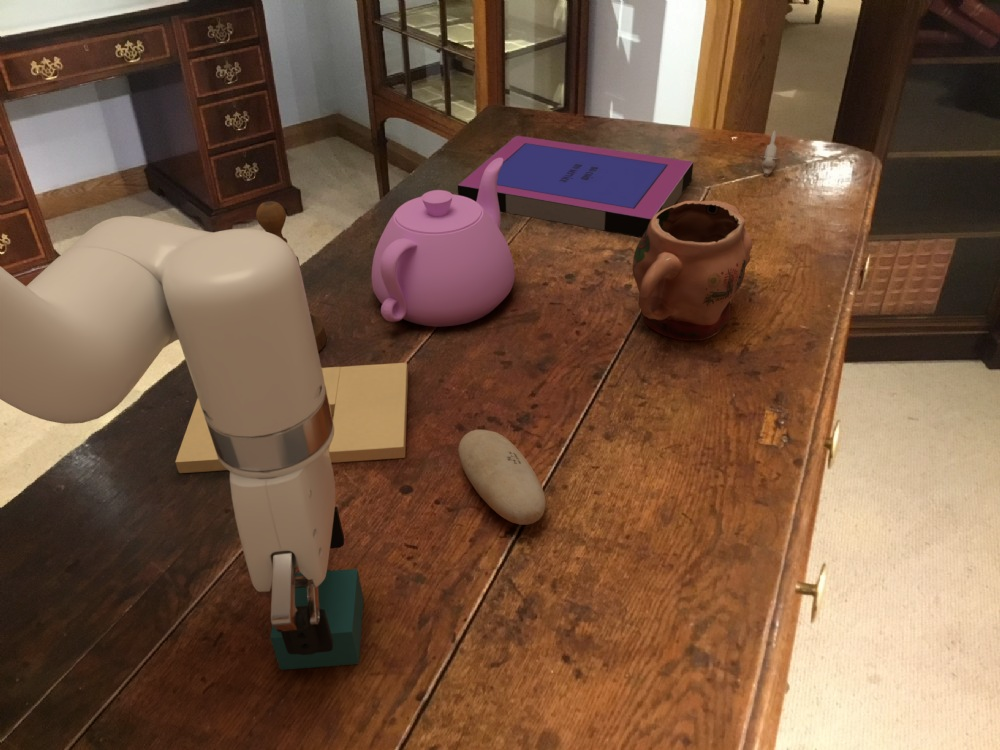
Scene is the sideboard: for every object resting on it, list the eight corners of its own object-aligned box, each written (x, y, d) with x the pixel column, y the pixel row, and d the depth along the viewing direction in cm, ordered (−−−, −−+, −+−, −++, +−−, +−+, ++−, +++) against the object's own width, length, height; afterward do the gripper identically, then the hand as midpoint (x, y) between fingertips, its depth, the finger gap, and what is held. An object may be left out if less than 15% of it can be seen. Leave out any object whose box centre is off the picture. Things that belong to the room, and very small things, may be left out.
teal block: (280, 670, 65) (270, 638, 62) (290, 606, 70) (281, 573, 67) (359, 664, 65) (351, 631, 63) (364, 600, 70) (357, 568, 67)
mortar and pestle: (267, 334, 102) (235, 195, 91) (322, 324, 103) (296, 186, 92) (273, 365, 97) (239, 222, 86) (330, 354, 98) (303, 211, 87)
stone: (493, 421, 83) (570, 458, 74) (488, 482, 85) (562, 526, 75) (442, 426, 80) (515, 465, 71) (438, 489, 82) (508, 536, 72)
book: (516, 135, 142) (693, 161, 131) (516, 152, 144) (691, 180, 133) (457, 185, 127) (652, 219, 116) (458, 203, 129) (650, 239, 118)
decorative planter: (696, 389, 91) (711, 275, 82) (594, 355, 96) (599, 246, 88) (760, 302, 104) (779, 197, 96) (667, 277, 110) (677, 175, 101)
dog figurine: (754, 184, 136) (756, 167, 131) (762, 140, 138) (765, 121, 132) (775, 187, 135) (778, 169, 130) (783, 141, 137) (786, 123, 132)
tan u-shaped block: (178, 473, 83) (174, 462, 82) (208, 385, 94) (205, 375, 93) (405, 458, 84) (403, 446, 83) (408, 373, 95) (406, 362, 94)
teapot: (450, 361, 96) (442, 254, 88) (332, 318, 104) (314, 216, 96) (558, 265, 113) (560, 167, 105) (449, 234, 121) (442, 141, 113)
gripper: (236, 348, 61) (284, 515, 71) (180, 526, 47) (249, 702, 57) (341, 340, 61) (374, 508, 71) (316, 515, 47) (360, 692, 58)
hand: (318, 594), depth 64 cm, fingers open, 9 cm apart
